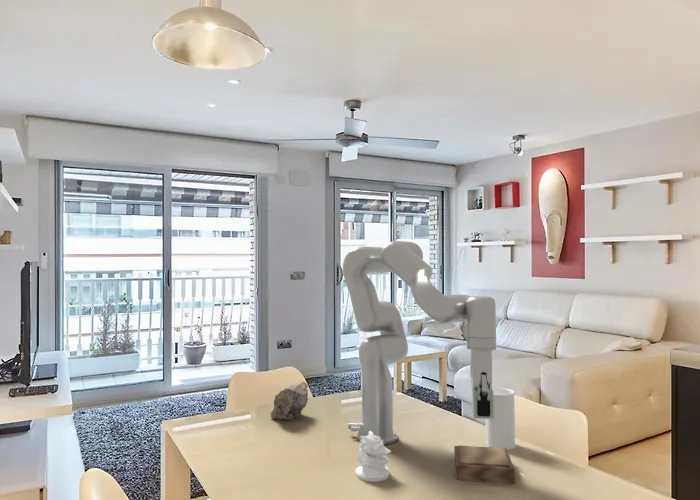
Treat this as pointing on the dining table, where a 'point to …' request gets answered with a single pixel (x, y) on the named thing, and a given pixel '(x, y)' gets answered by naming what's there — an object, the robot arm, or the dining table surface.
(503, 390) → the cup
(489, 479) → the plinth
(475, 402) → the block
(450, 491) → the dining table surface
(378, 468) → the figurine
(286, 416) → the rock
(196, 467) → the dining table surface
